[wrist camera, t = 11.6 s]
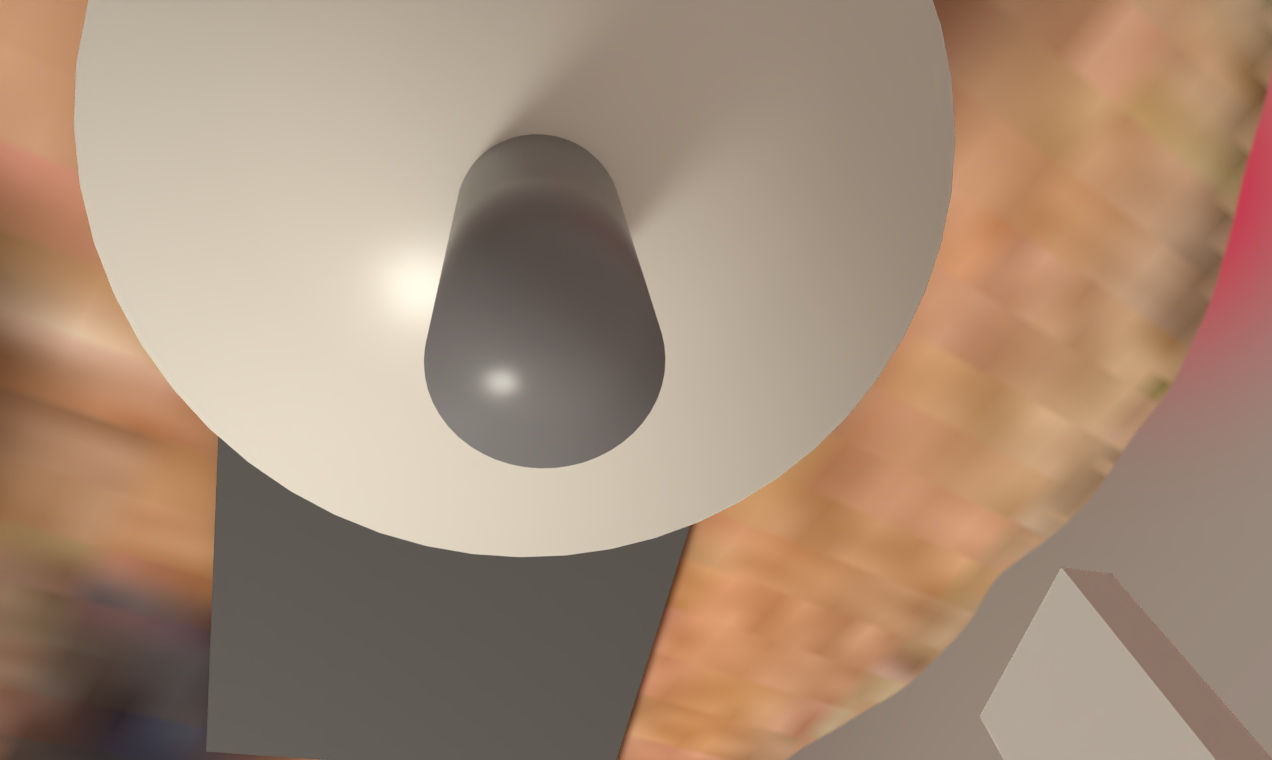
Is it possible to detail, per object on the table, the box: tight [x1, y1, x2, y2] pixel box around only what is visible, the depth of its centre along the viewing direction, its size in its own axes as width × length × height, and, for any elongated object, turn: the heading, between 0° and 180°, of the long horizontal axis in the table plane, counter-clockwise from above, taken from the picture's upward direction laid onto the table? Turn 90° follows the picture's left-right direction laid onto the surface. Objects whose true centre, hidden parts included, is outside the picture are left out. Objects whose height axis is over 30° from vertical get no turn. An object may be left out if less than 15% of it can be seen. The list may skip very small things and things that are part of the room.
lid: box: [74, 0, 955, 557], centre depth 21 cm, size 23×23×10 cm
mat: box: [206, 436, 690, 760], centre depth 46 cm, size 22×22×1 cm
